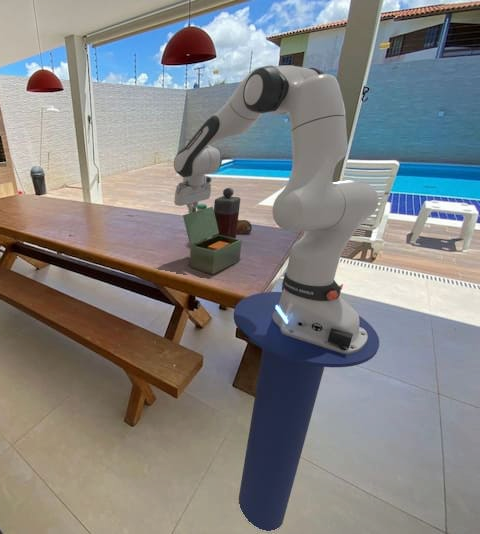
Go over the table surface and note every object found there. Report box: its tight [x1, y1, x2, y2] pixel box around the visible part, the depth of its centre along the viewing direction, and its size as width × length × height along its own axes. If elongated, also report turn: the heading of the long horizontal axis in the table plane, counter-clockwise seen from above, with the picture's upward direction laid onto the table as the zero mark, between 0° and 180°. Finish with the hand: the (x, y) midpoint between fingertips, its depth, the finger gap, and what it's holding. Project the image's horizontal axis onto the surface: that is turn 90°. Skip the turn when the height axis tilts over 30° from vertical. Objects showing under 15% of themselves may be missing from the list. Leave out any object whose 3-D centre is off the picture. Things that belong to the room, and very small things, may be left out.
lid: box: [182, 206, 219, 245], centre depth 133 cm, size 12×20×1 cm
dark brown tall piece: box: [211, 187, 241, 239], centre depth 150 cm, size 9×11×28 cm
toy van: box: [208, 241, 230, 251], centre depth 131 cm, size 5×9×8 cm, turn 132°
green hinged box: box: [189, 235, 243, 275], centre depth 131 cm, size 12×20×10 cm, turn 129°
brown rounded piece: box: [236, 219, 253, 234], centre depth 167 cm, size 15×3×8 cm, turn 72°
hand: (192, 212), depth 135 cm, fingers closed
